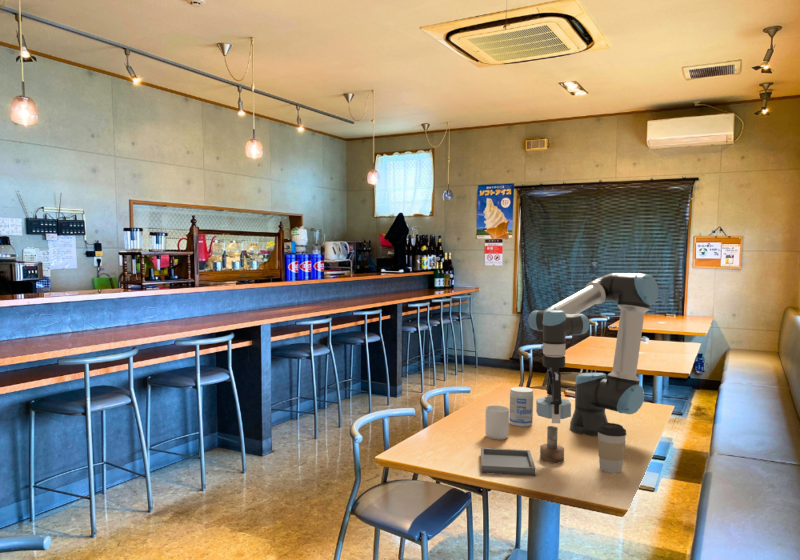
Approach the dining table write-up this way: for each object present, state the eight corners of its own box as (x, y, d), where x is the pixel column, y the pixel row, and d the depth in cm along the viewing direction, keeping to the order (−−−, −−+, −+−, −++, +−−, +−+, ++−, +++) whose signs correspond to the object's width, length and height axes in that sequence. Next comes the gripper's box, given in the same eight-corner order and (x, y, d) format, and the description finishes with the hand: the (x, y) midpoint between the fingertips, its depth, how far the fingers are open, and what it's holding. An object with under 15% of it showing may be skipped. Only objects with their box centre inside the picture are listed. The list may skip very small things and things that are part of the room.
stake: (561, 455, 198) (562, 424, 197) (565, 463, 190) (566, 431, 189) (538, 454, 199) (539, 423, 198) (541, 462, 191) (542, 430, 190)
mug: (501, 442, 212) (501, 412, 211) (481, 437, 217) (481, 408, 217) (516, 434, 221) (516, 406, 221) (496, 429, 227) (496, 402, 226)
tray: (529, 457, 196) (529, 450, 196) (535, 476, 179) (535, 468, 179) (480, 454, 198) (480, 447, 198) (481, 473, 181) (481, 465, 181)
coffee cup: (591, 464, 189) (592, 420, 189) (617, 463, 190) (618, 420, 189) (603, 475, 180) (604, 429, 180) (630, 474, 181) (631, 428, 180)
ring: (567, 410, 199) (567, 397, 198) (572, 419, 188) (572, 406, 188) (535, 409, 200) (535, 396, 200) (539, 418, 189) (539, 405, 189)
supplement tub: (517, 428, 229) (518, 392, 228) (504, 422, 237) (505, 387, 237) (537, 425, 232) (538, 390, 232) (523, 419, 241) (524, 385, 241)
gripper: (538, 349, 205) (538, 408, 206) (547, 361, 182) (546, 428, 183) (559, 349, 204) (559, 408, 205) (571, 362, 181) (570, 428, 182)
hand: (553, 417), depth 194 cm, fingers closed on ring, 11 cm apart
